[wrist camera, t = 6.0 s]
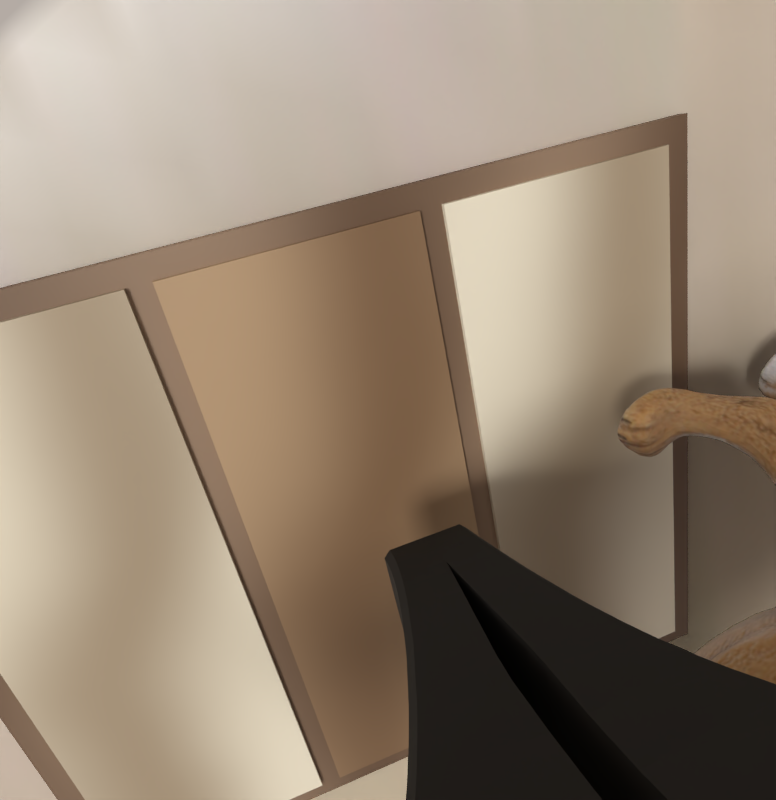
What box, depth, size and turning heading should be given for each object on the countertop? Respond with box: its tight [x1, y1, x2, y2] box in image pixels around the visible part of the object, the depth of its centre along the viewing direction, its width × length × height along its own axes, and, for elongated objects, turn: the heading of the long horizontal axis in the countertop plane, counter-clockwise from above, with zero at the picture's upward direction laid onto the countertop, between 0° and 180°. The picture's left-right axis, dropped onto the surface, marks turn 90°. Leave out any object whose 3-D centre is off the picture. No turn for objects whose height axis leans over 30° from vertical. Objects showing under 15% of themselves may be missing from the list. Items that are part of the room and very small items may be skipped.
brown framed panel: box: [0, 113, 688, 800], centre depth 12 cm, size 14×12×1 cm
